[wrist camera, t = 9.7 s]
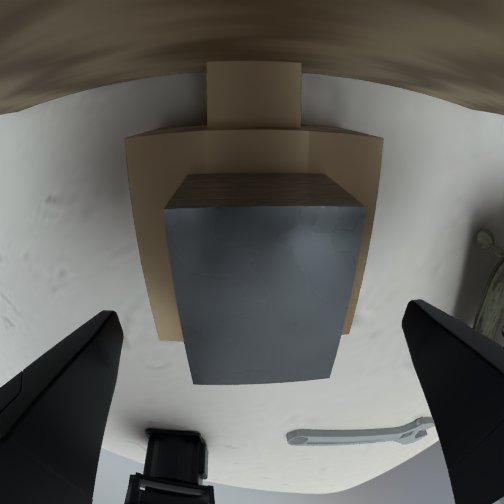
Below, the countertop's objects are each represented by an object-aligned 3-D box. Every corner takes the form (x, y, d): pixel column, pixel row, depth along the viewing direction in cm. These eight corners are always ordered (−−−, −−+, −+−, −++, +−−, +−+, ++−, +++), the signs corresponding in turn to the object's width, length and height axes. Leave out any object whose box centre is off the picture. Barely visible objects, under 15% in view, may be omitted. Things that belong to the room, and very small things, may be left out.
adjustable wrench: (281, 434, 30) (283, 446, 28) (309, 408, 27) (312, 422, 26) (412, 435, 35) (415, 443, 34) (439, 413, 33) (443, 421, 31)
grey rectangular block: (207, 274, 17) (193, 384, 10) (200, 157, 14) (163, 209, 7) (295, 272, 17) (329, 378, 10) (303, 157, 14) (366, 207, 7)
